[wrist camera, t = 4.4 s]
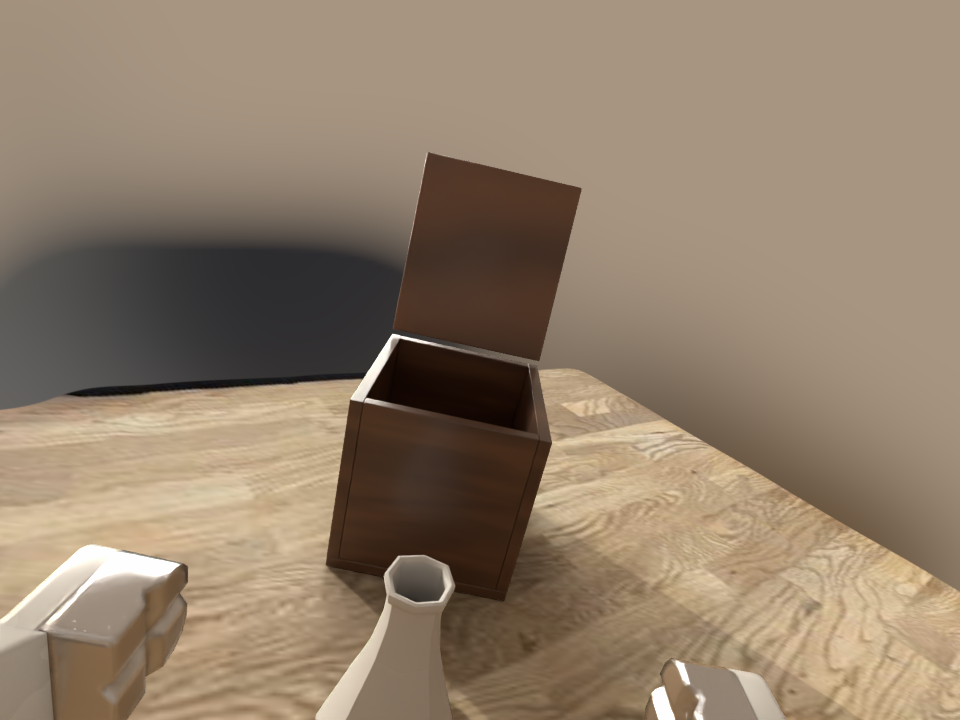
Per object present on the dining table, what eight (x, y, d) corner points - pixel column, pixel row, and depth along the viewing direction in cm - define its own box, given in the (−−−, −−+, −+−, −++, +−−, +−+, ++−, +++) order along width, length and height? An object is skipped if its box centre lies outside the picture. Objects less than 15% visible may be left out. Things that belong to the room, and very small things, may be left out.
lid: (581, 187, 42) (579, 189, 43) (427, 151, 42) (428, 153, 43) (539, 361, 45) (538, 359, 46) (392, 328, 44) (394, 327, 45)
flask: (450, 825, 24) (500, 664, 20) (289, 799, 23) (314, 631, 20) (458, 678, 31) (498, 540, 27) (334, 657, 30) (358, 513, 27)
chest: (504, 601, 37) (552, 442, 33) (325, 565, 36) (349, 399, 32) (502, 490, 50) (537, 365, 45) (370, 462, 49) (392, 333, 45)
